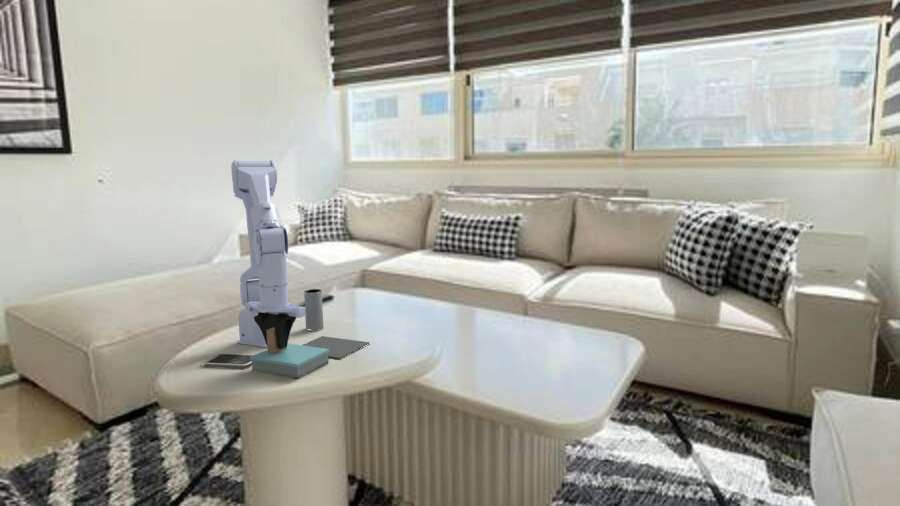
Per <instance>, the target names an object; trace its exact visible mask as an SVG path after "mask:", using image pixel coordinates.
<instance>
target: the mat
mask: <svg viewBox="0 0 900 506" xmlns="http://www.w3.org/2000/svg"><path fill="white" fill-rule="evenodd" d="M306 343H307V344H306ZM369 343H370V344H371V342H369V341H362V340H353V339H349V338H348V339H347V338H339V337H331V336H325V335H322V336H320V337H317V338H314V339H312V340H311V341H308V342H305V343H304V344H302V345H304V346H311V347H317V348H324V349H329V352H328V357H329V358H328V359H334V358H336V360H342V359H344V358H346V357H348V356H349V355H348V354H350V353H352V352H354V351H355V350H357V349H359V348H361V347H363V346H365V345H367V344H369ZM370 344H369V345H370ZM367 346H368V345H367ZM365 347H366V346H365ZM363 348H364V347H363ZM361 349H362V348H361ZM359 350H360V349H359ZM354 353H355V352H354ZM352 354H353V353H352ZM347 355H348V356H347ZM350 355H351V354H350ZM345 356H346V357H345ZM343 357H344V358H343ZM341 358H342V359H341Z"/></svg>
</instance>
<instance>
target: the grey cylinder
mask: <svg viewBox="0 0 900 506" xmlns="http://www.w3.org/2000/svg"><path fill="white" fill-rule="evenodd" d="M322 291H323V290H322V289H318V288H313V289H311V288H310V289H306V290H304V291H303V297H304V307H305V316H304V317H305V329H306V328H307V329H311V330H317V329H321V330H323V329H324V310H323V292H322ZM322 328H323V329H322ZM317 331H318V330H317Z"/></svg>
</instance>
